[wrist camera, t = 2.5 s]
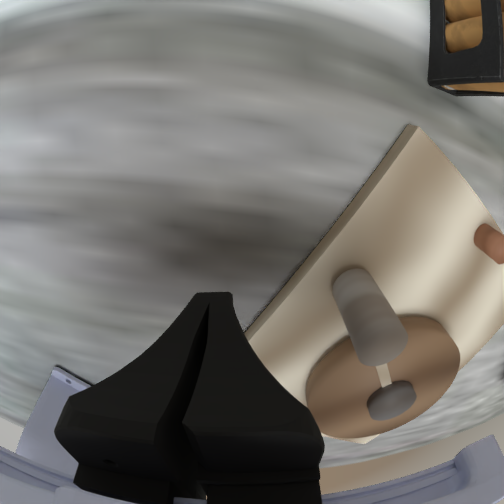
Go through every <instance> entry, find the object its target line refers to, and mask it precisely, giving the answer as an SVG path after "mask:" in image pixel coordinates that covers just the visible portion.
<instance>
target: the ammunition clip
mask: <svg viewBox="0 0 504 504" xmlns="http://www.w3.org/2000/svg"><path fill="white" fill-rule="evenodd" d="M428 82H429V84H430V86H433V87H436V88H438V89H441V90H443V91H445V92H448V93H450V94H453V95H455V96H504V0H430V52H429V68H428Z"/></svg>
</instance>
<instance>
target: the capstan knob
mask: <svg viewBox="0 0 504 504" xmlns="http://www.w3.org/2000/svg"><path fill="white" fill-rule="evenodd" d="M332 292H333V297H334V299H335V301H336V304H337V306H338V309H339V311H340V314H341V316H342V318H343V321H344V323H345V326H346V328H347V331H348V334H349V336H350V338H349V339H347V340H345V341H344V342H343V343H341V344H340V345H338V346H337V347H336V348H334V349H333V350H332V351H331V352H330V353H329V354H327V355H326V356H325V357H324V359H323V360H322V361H321V362H320V363H319V364H318V365H317V367H316V368H315V369H314V371H313V372H312V374H311V376H310V377H309V380H308V383H307V386H306V391H305V392H306V402H307V408H308V409H309V410H310V412H311V413H312V415H313V417H314V419H315V421H316V423H317V425H318V427H319V429H320V432H321V433H323V434H325V435H328V436H331V437H336V438H347V439H350V438H363V437H369V436H374V435H377V434H381V433H384V432H387V431H390V430H392V429H395V428H397V427H399V426H402V425H404V424H406V423H408V422H409V421H411V420H413V419H415V418H416V417H418V416H419V415H421V414H422V413H423V412H425V411H426V410H428V409H429V408H430V407H431V406H432V405H433V404H435V403H436V402H437V401H438V400H439V399H440V398H441V397H442V396H443V394H444V393H445V392H446V391H447V389H448V388H449V387H450V385H451V384H452V382H453V380H454V379H455V377H456V374H457V372H458V369H459V366H460V352H459V349H458V347H457V345H456V344H455V342H454V341H453V339H452V338H451V336H450V335H449V334H448V332H447V331H446V329H445V328H444V327H443V326H442V325H441V324H440V323H438V322H436V321H434V320H431V319H429V318H423V317H405V318H398V317H397V315H396V313H395V312H394V310H393V309H392V307H391V305H390V304H389V302H388V301H387V299H386V297H385V296H384V294H383V293H382V291H381V290H380V288H379V286H378V285H377V283H376V282H375V280H374V279H373V277H372V276H371V274H370V273H369V272H368V271H366V270H364V269H358V268H357V269H351V270H348V271H346V272H344V273H342V274H341V275H340V276H339V277H338V278H337V279H336V281H335V283H334V285H333V290H332Z"/></svg>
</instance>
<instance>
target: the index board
mask: <svg viewBox="0 0 504 504" xmlns="http://www.w3.org/2000/svg"><path fill="white" fill-rule="evenodd" d="M357 268H358V269H364V270H366V271H368V272H369V273H370V274H371V276H372V277H373V279H374V280H375V282H376V283H377V285H378V286H379V288H380V290H381V291H382V293H383V294H384V296H385V297H386V299H387V301H388V302H389V304H390V305H391V307H392V309H393V310H394V312H395V313H396V315H397V317H398V318H405V317H423V318H429V319H431V320H434V321H436V322H438V323H440V324H441V325H442V326H443V327H444V328H445V329H446V331H447V332H448V334H449V335H450V336H451V338H452V339H453V341H454V342H455V344H456V345H457V347H458V349H459V352H460V366H459V369H458V371H459V370H460V369H461V368H463V367H464V366H465V365H466V364H467V363H468V362H469V361H470V360H471V359H472V358H473V357H474V356H475V355H476V354H477V353H478V352H479V350H480V349H481V348H482V347H483V346H484V345H485V344H486V343H487V342H488V341H489V340H490V339H491V338H492V336H493V335H494V334H495V333H496V332H497V331H498V330H499V329H500V327H501V326H502V325H503V324H504V235H503V233H502V232H501V230H500V228H499V227H498V225H497V224H496V222H495V221H494V219H493V218H492V216H491V215H490V213H489V212H488V210H487V209H486V207H485V206H484V204H483V203H482V202H481V200H480V199H479V197H478V196H477V195H476V193H475V192H474V191H473V189H472V188H471V187H470V185H469V184H468V183H467V181H466V180H465V179H464V178H463V176H462V175H461V174H460V173H459V171H458V170H457V169H456V168H455V166H454V165H453V164H452V163H451V162H450V160H449V159H448V158H447V157H446V156H445V155H444V153H443V152H442V151H441V150H440V149H439V148H438V147H437V145H436V144H435V143H434V142H433V141H432V140H431V139H430V138H429V137H428V136H427V135H426V133H425V132H424V131H423V130H422V129H421V128H420V127H419V126H413V125H407V127H406V128H405V129H404V131H403V132H402V134H401V135H400V136H399V138H398V139H397V141H396V142H395V144H394V145H393V146H392V148H391V149H390V150H389V152H388V153H387V155H386V156H385V157H384V159H383V160H382V161H381V163H380V164H379V166H378V167H377V168H376V170H375V171H374V172H373V174H372V175H371V176H370V178H369V179H368V180H367V182H366V183H365V184H364V186H363V187H362V188H361V190H360V191H359V192H358V194H357V195H356V196H355V198H354V199H353V200H352V202H351V203H350V204H349V206H348V207H347V208H346V209H345V211H344V212H343V213H342V215H341V216H340V217H339V219H338V220H337V221H336V222H335V224H334V225H333V226H332V228H331V229H330V230H329V231H328V233H327V234H326V235H325V236H324V238H323V239H322V240H321V241H320V243H319V244H318V245H317V247H316V248H315V249H314V250H313V252H312V253H311V254H310V255H309V257H308V258H307V259H306V260H305V261H304V263H303V264H302V265H301V266H300V268H299V269H298V270H297V271H296V273H295V274H294V275H293V276H292V277H291V279H290V280H289V281H288V282H287V283H286V285H285V286H284V287H283V288H282V290H281V291H280V292H279V293H278V294H277V296H276V297H275V298H274V299H273V300H272V302H271V303H270V304H269V305H268V306H267V307H266V309H265V310H264V311H263V312H262V313H261V315H260V316H259V317H258V318H257V319H256V320H255V322H254V323H253V324H252V325H251V326H250V327H249V329H248V330H247V331H246V332H245V333H244V334H245V336H246V338H247V340H248V342H249V344H250V345H251V347H252V349H253V350H254V352H255V353H256V355H257V356H258V358H259V359H260V360H261V362H262V363H263V364H264V366H265V367H266V368H267V369H268V371H269V372H270V373H271V374H272V375H273V376H274V377H275V378H276V380H277V381H278V382H279V383H280V384H281V385H282V386H283V387H284V388H285V389H286V390H287V391H288V392H289V393H290V394H291V395H293V396H294V397H295V398H296V399H297V400H298V401H300V402H301V403H302V404H303V405H305V406H306V407H307V402H306V392H305V391H306V386H307V383H308V380H309V377H310V376H311V374H312V372H313V371H314V369H315V368H316V367H317V365H318V364H319V363H320V362H321V361H322V360H323V359H324V357H325V356H326V355H327V354H329V353H330V352H331V351H332V350H333V349H334V348H336V347H337V346H338V345H340V344H341V343H343V342H344V341H345V340H347V339H349V338H350V336H349V334H348V331H347V328H346V326H345V323H344V321H343V318H342V316H341V314H340V311H339V309H338V306H337V304H336V301H335V299H334V297H333V292H332V290H333V285H334V283H335V281H336V279H337V278H338V277H339V276H340V275H341V274H342V273H344V272H346V271H348V270H351V269H357ZM321 435H322V436H325V437H330V438H335V439H339V440H345V441H350V442H355V443H361V444H366V443H367V442H369V441H370V440H372V439H373V438H375V437H376V436H378V435H379V434H377V435H374V436H369V437H363V438H350V439H347V438H336V437H331V436H328V435H325V434H323V433H321Z"/></svg>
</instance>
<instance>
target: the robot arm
mask: <svg viewBox="0 0 504 504" xmlns="http://www.w3.org/2000/svg"><path fill="white" fill-rule="evenodd" d="M324 446H325V445H324V441H323V437H322V435H321V432H320V429H319V427H318V425H317V423H316V421H315V419H314V417H313V415H312V413H311V412H310V410H309V409H308V408H307V407H306V406H305V405H303V404H302V403H301V402H300V401H298V400H297V399H296V398H295V397H294V396H293V395H291V394H290V393H289V392H288V391H287V390H286V389H285V388H284V387H283V386H282V385H281V384H280V383H279V382H278V381H277V380H276V378H275V377H274V376H273V375H272V374H271V373H270V372H269V371H268V369H267V368H266V367H265V366H264V364H263V363H262V362H261V360H260V359H259V358H258V356H257V355H256V353H255V352H254V350H253V349H252V347H251V345H250V344H249V342H248V340H247V338H246V336H245V334H244V333H243V330H242V328H241V326H240V324H239V321H238V319H237V316H236V314H235V310H234V307H233V297H232V294H231V293H230V292H204V293H196V294H195V295H194V296H193V298H192V299H191V300H190V302H189V303H188V305H187V306H186V307H185V308H184V310H183V311H182V312H181V314H180V315H179V316H178V317H177V318H176V320H175V321H174V322H173V323H172V324H171V326H170V327H169V328H168V329H167V330H166V331H165V332H164V333H163V334H162V335H161V336H160V337H159V339H158V340H157V341H156V342H155V343H154V344H152V345H151V346H150V347H149V348H148V349H147V350H146V351H145V352H144V353H142V354H141V355H140V356H139V357H137V358H136V359H135V360H133V361H132V362H131V363H129V364H128V365H126V366H125V367H124V368H122V369H121V370H119V371H118V372H116V373H115V374H113V375H111V376H110V377H108V378H106V379H104V380H103V381H101V382H99V383H97V384H95V385H93V386H90V385H88V384H87V383H85V382H83V381H81V380H79V379H78V378H76V377H74V376H72V375H71V374H69V373H67V372H65V371H64V370H62V369H60V368H58V367H54V368H53V370H52V374H51V376H50V378H49V380H48V382H47V384H46V386H45V388H44V389H43V391H42V393H41V395H40V397H39V399H38V400H37V403H36V405H35V407H34V409H33V411H32V413H31V415H30V417H29V419H28V421H27V424H26V426H25V428H24V430H23V432H22V435H21V438H20V440H19V443H18V446H17V449H16V453H14V452H12V451H9V450H7V449H5V448H3V447H1V446H0V504H496V503H498V502H499V501H500V500H502V499H504V456H503V454H502V451H501V449H500V447H499V445H498V443H497V441H496V439H495V437H494V435H489V436H487V437H485V438H483V439H481V440H479V441H476V442H475V443H472V444H470V445H468V446H466V447H465V448H464V449H462V450H461V451H460V452H459V453H458V454H457V455H456V456H455V458H454V459H452V460H450V461H447V462H445V463H442V464H440V465H437V466H434V467H432V468H429V469H426V470H423V471H420V472H417V473H415V474H411V475H408V476H405V477H401V478H398V479H395V480H391V481H387V482H383V483H379V484H375V485H371V486H367V487H363V488H358V489H353V490H348V491H342V492H337V493H331V494H324V495H321V491H320V485H319V479H320V471H319V463H320V461H321V458H322V456H323V453H324ZM206 495H207V500H206Z"/></svg>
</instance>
